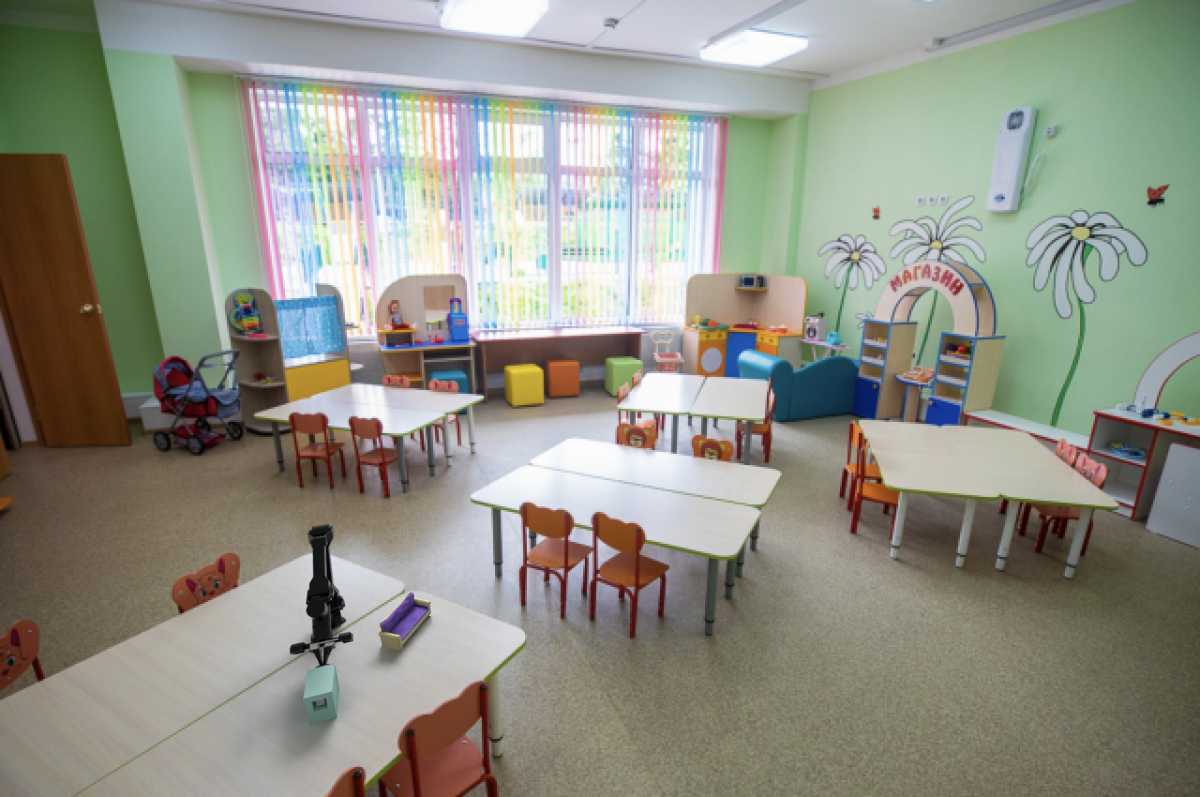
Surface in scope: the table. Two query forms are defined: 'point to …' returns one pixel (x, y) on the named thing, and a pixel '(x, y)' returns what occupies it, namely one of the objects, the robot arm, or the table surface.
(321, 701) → the plunger
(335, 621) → the robot arm
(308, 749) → the table surface
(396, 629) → the toy sofa
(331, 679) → the block
